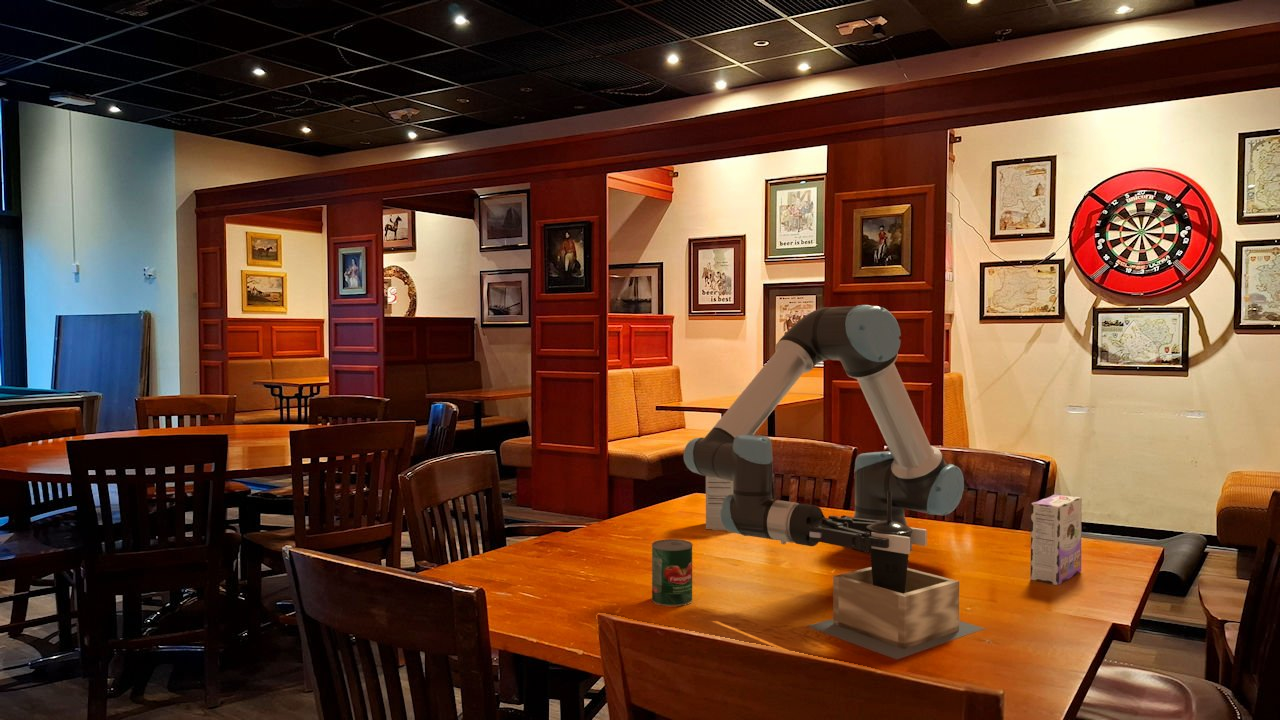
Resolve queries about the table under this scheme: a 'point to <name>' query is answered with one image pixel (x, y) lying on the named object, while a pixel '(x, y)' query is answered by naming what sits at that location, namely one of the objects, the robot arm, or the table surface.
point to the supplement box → (716, 500)
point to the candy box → (1055, 539)
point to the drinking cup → (889, 555)
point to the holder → (897, 607)
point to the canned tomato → (672, 572)
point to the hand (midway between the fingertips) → (917, 541)
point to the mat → (885, 647)
